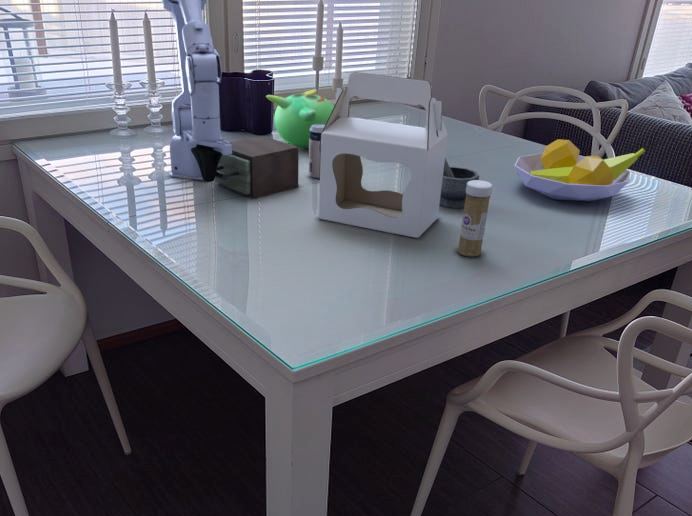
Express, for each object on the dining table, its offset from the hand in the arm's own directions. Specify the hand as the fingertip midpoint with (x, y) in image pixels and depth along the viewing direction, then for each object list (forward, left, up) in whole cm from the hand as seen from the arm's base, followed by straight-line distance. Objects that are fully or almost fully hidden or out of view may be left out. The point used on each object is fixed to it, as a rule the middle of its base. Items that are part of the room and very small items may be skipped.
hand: (208, 181), depth 150 cm
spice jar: (+18, +24, -4) cm, 30 cm away
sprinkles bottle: (+58, -12, -4) cm, 59 cm away
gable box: (+38, 0, -4) cm, 38 cm away
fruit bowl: (+78, +34, -4) cm, 85 cm away
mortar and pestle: (+51, +16, -4) cm, 54 cm away
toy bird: (+7, +49, -4) cm, 50 cm away
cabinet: (+7, +12, -4) cm, 14 cm away
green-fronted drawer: (+5, +8, -3) cm, 10 cm away
